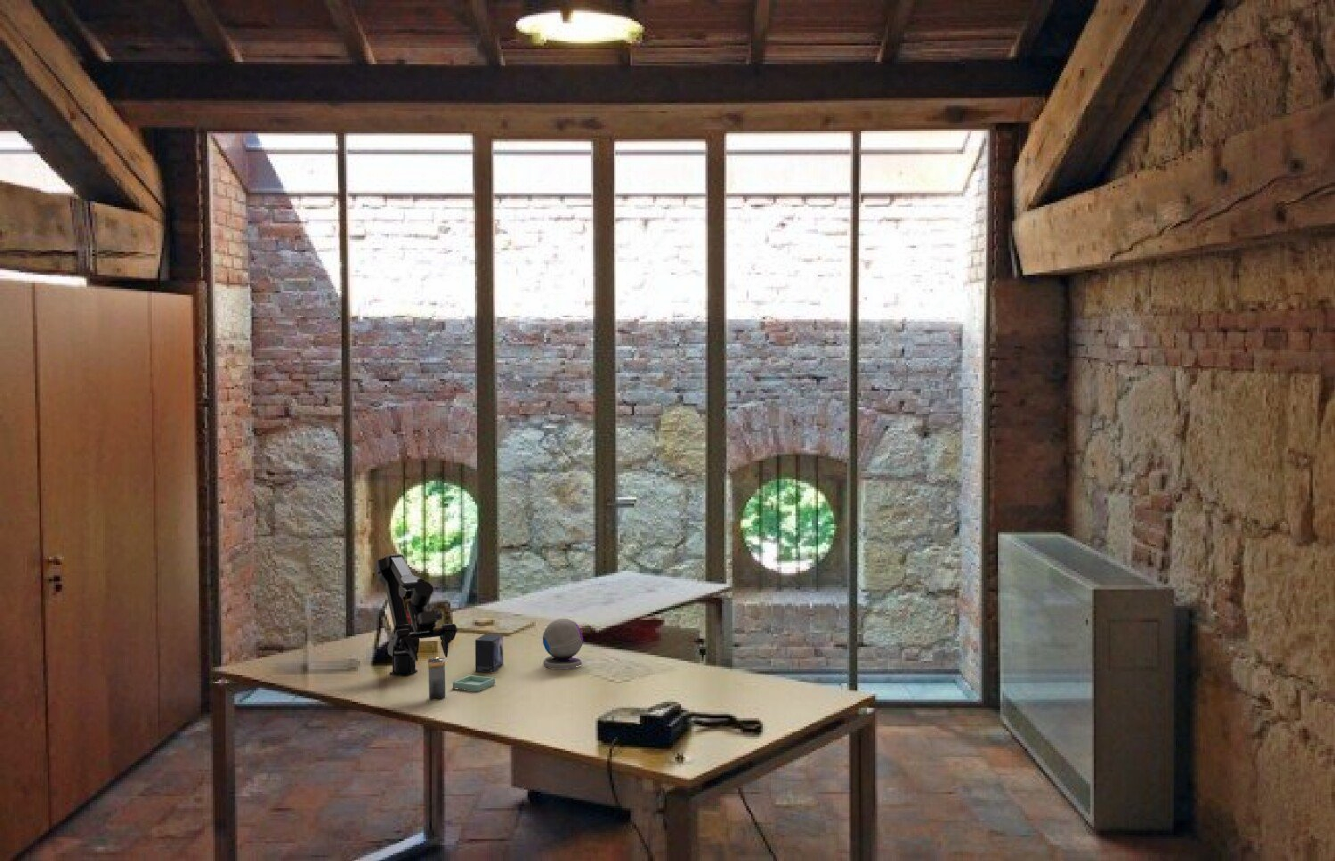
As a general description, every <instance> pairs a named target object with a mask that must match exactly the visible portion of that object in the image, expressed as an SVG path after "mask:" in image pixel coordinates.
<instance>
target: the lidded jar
mask: <svg viewBox="0 0 1335 861" xmlns="http://www.w3.org/2000/svg"><path fill="white" fill-rule="evenodd" d="M427 660H428V661H427V666H428V667H427V668H428V671H427V672H428V699H429V698H431V699H430V700H433V699H439V700H443V699H442V698H444V699H445V698H446V697H445V696H446V667H445V666H446V660H445V657H439V656H434V657H431V658H428V659H427Z"/></svg>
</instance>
